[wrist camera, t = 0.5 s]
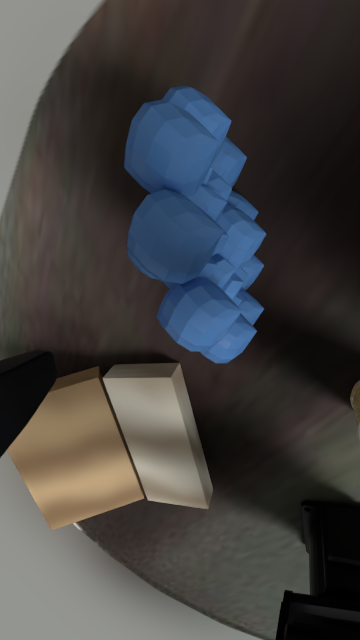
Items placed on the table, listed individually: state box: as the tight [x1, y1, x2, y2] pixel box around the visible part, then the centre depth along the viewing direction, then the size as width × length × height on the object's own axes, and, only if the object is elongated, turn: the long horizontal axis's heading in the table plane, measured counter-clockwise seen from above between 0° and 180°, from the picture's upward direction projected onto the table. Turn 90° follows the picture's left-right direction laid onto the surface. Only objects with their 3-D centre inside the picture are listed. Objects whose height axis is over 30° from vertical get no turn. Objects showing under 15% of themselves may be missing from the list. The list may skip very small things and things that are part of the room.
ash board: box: [102, 363, 213, 509], centre depth 29 cm, size 14×6×2 cm, turn 14°
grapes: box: [124, 86, 266, 363], centre depth 15 cm, size 12×7×12 cm, turn 13°
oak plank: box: [7, 366, 144, 530], centre depth 30 cm, size 14×9×2 cm, turn 14°
